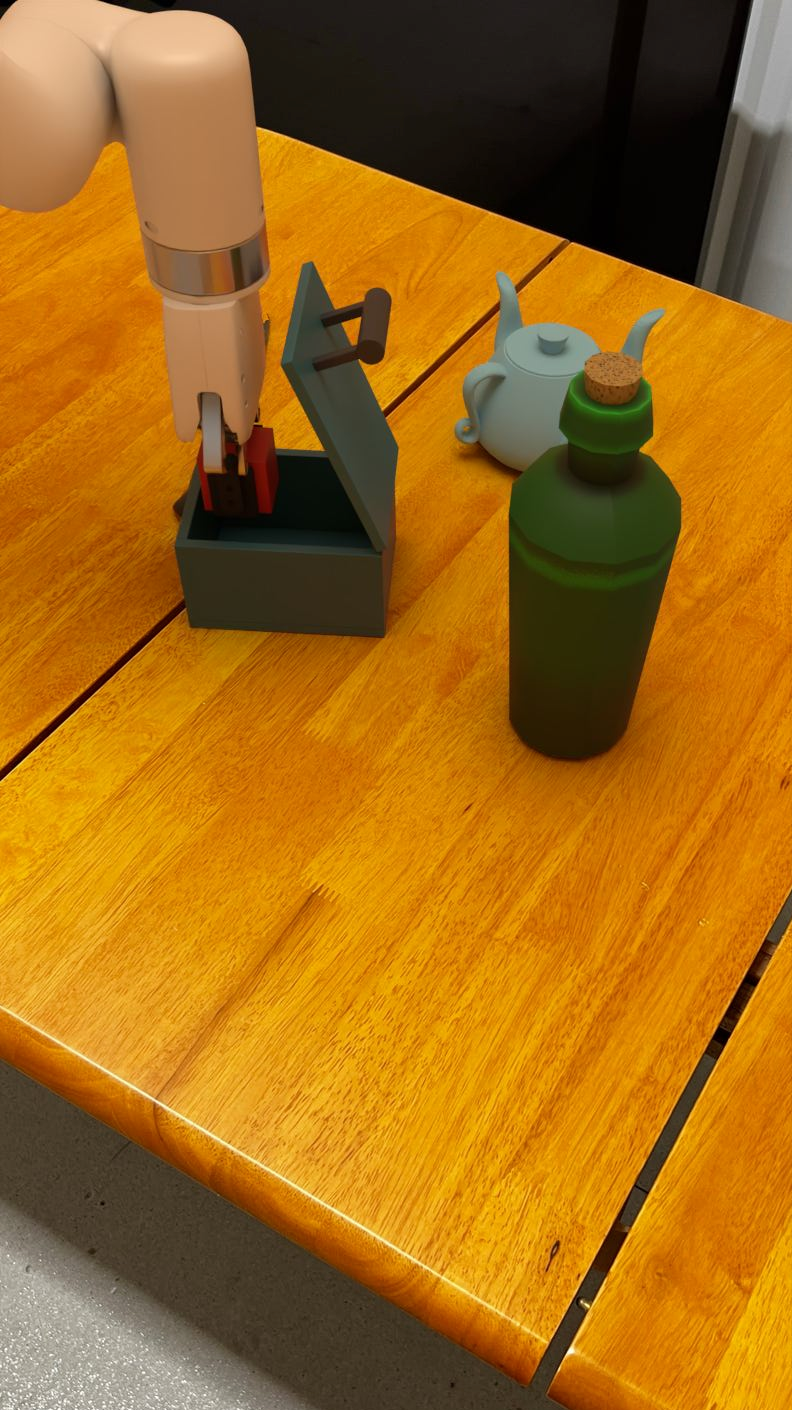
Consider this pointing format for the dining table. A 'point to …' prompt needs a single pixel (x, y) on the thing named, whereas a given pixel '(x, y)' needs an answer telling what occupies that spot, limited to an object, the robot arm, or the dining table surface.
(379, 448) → the lid
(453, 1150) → the dining table surface
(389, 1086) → the dining table surface
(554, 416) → the teapot
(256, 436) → the red block
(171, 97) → the robot arm
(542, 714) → the bottle
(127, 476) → the dining table surface
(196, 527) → the cool box
